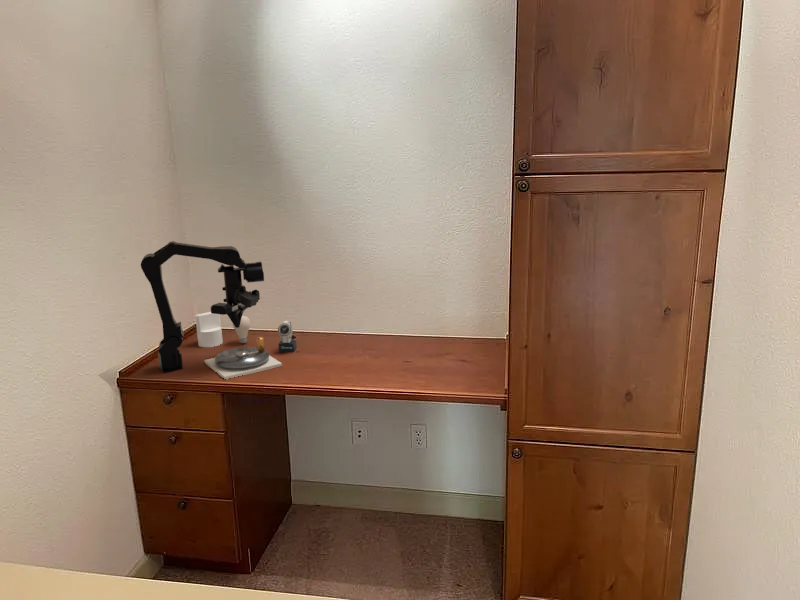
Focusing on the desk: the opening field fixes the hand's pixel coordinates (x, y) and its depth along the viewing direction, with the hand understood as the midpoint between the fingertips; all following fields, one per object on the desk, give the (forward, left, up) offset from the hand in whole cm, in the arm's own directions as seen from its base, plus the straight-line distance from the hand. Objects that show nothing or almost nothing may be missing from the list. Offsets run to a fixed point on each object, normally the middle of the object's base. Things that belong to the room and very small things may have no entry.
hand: (237, 327), depth 210 cm
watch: (+18, -1, -12) cm, 22 cm away
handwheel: (-1, -5, -10) cm, 11 cm away
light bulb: (+8, +17, -12) cm, 22 cm away
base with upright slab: (-2, +25, -12) cm, 28 cm away
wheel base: (-1, -5, -12) cm, 13 cm away
